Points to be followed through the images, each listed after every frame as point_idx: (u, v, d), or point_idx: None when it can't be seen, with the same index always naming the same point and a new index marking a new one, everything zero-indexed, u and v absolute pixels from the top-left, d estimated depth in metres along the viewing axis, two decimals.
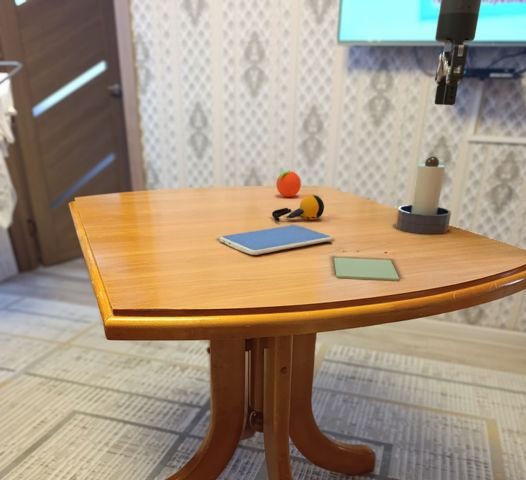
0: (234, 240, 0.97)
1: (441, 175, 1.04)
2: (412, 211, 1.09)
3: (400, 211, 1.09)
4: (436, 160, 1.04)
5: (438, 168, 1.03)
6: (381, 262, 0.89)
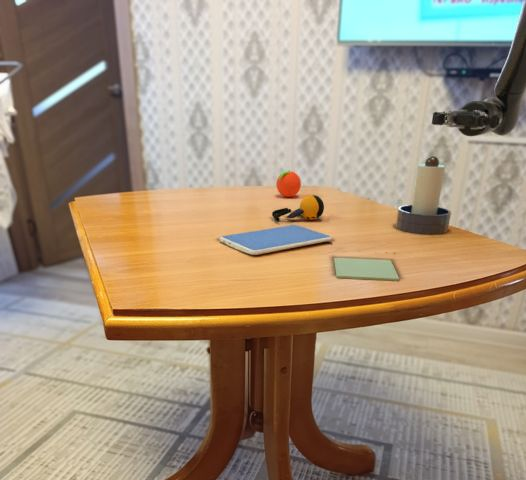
0: (234, 240, 0.97)
1: (441, 175, 1.04)
2: (412, 211, 1.09)
3: (400, 211, 1.09)
4: (436, 160, 1.04)
5: (438, 168, 1.03)
6: (381, 262, 0.89)
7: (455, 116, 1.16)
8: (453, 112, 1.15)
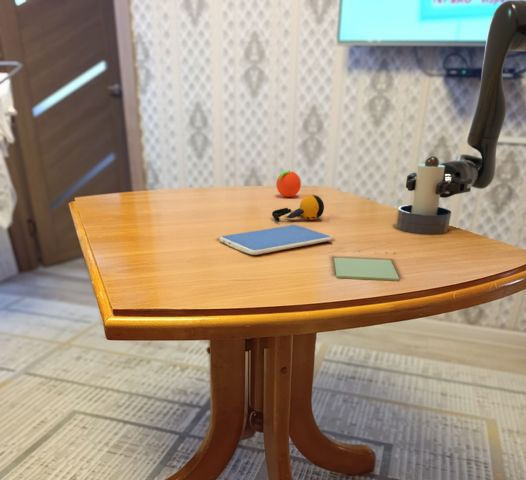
0: (234, 240, 0.97)
1: (440, 175, 1.04)
2: (412, 211, 1.09)
3: (400, 211, 1.09)
4: (436, 160, 1.04)
5: (438, 168, 1.03)
6: (381, 262, 0.89)
7: None
8: None
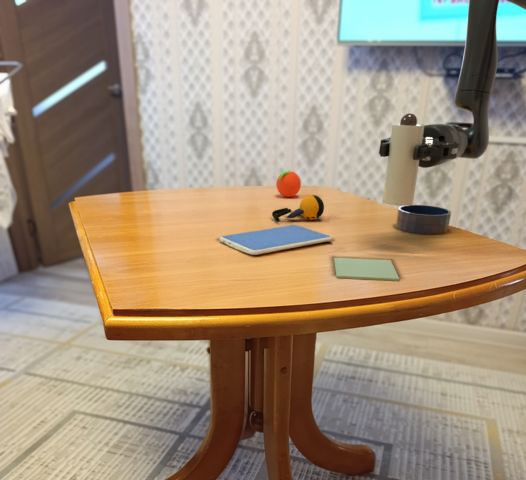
0: (234, 240, 0.97)
1: (419, 136, 0.85)
2: (386, 182, 0.91)
3: (400, 211, 1.09)
4: (413, 118, 0.85)
5: (415, 127, 0.84)
6: (381, 262, 0.89)
7: None
8: None
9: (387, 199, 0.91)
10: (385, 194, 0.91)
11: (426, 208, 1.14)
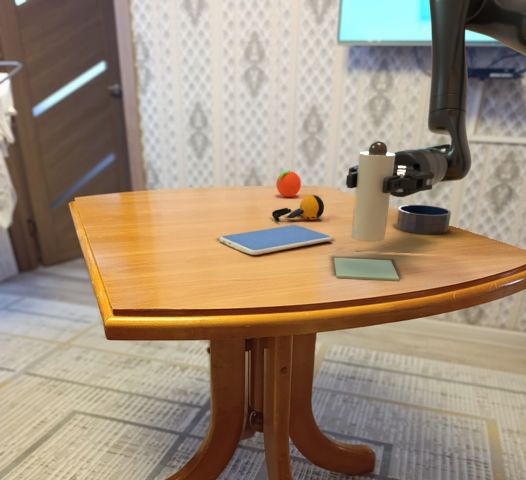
0: (234, 240, 0.97)
1: (389, 167, 0.76)
2: (354, 215, 0.82)
3: (400, 211, 1.09)
4: (383, 146, 0.76)
5: (385, 157, 0.75)
6: (381, 262, 0.89)
7: None
8: None
9: (356, 235, 0.82)
10: (353, 229, 0.82)
11: (426, 208, 1.14)
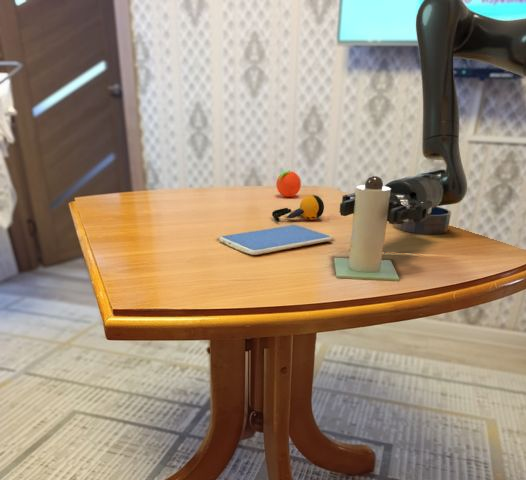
0: (234, 240, 0.97)
1: (384, 201, 0.79)
2: (351, 246, 0.84)
3: None
4: (378, 181, 0.79)
5: (380, 192, 0.78)
6: (381, 262, 0.89)
7: None
8: None
9: (353, 265, 0.84)
10: (350, 259, 0.84)
11: None
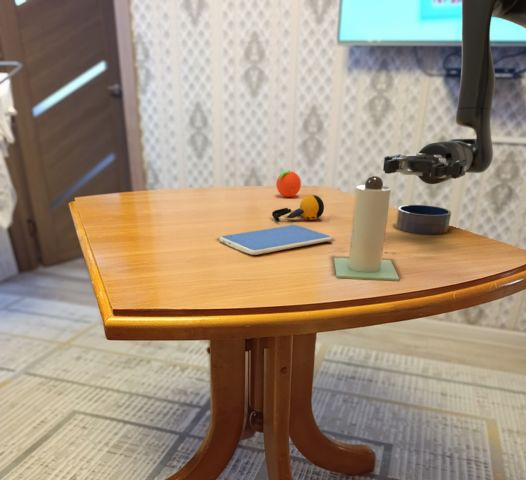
0: (234, 240, 0.97)
1: (384, 201, 0.79)
2: (351, 246, 0.84)
3: (400, 211, 1.09)
4: (378, 181, 0.79)
5: (380, 192, 0.78)
6: (381, 262, 0.89)
7: (411, 161, 0.95)
8: (408, 157, 0.94)
9: (353, 265, 0.84)
10: (350, 259, 0.84)
11: (426, 208, 1.14)
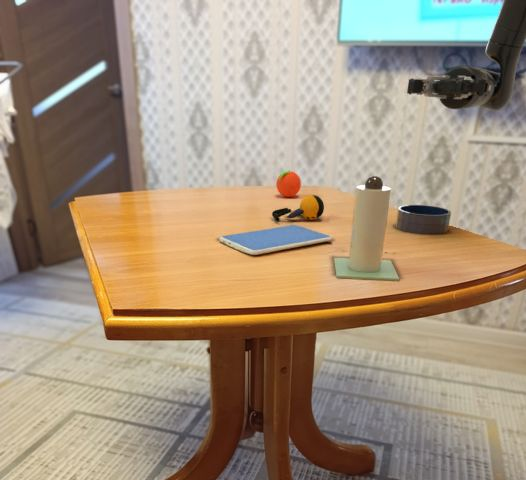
0: (234, 240, 0.97)
1: (384, 201, 0.79)
2: (351, 246, 0.84)
3: (400, 211, 1.09)
4: (378, 181, 0.79)
5: (380, 192, 0.78)
6: (381, 262, 0.89)
7: (435, 83, 0.96)
8: (432, 78, 0.95)
9: (353, 265, 0.84)
10: (350, 259, 0.84)
11: (426, 208, 1.14)
